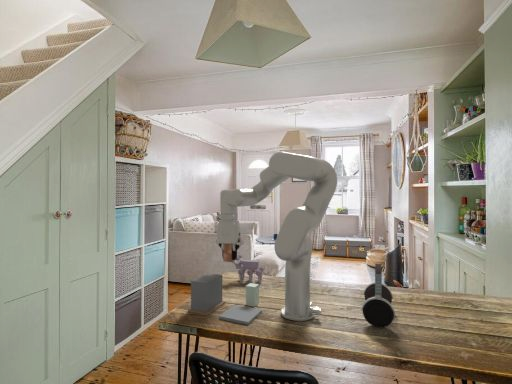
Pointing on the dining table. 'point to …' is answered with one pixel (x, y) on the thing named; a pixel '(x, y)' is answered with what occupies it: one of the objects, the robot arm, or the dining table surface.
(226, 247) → the terracotta block
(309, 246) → the robot arm
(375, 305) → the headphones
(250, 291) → the sage block
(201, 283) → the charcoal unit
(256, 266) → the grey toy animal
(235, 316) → the mat
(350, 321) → the dining table surface
